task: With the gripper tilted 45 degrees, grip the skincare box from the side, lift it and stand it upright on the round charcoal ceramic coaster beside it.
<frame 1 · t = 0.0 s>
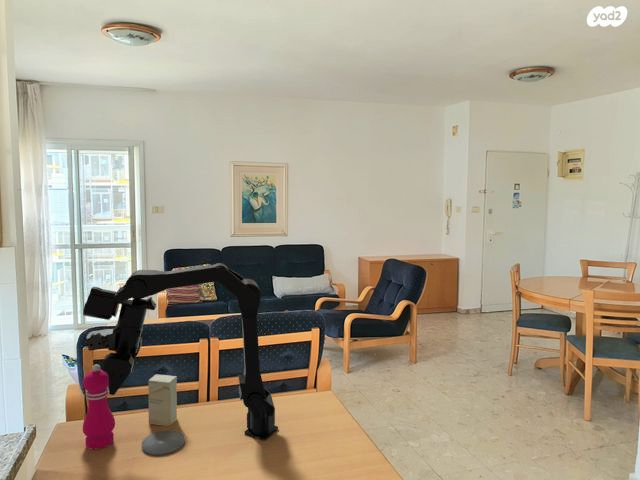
hand: (115, 386, 113), 15 cm above the table, tool pointing down, fingers open, 9 cm apart
charcoal coaster: (163, 443, 117), on the table
skincare box: (163, 421, 128), on the table
pepper mill: (99, 443, 117), on the table
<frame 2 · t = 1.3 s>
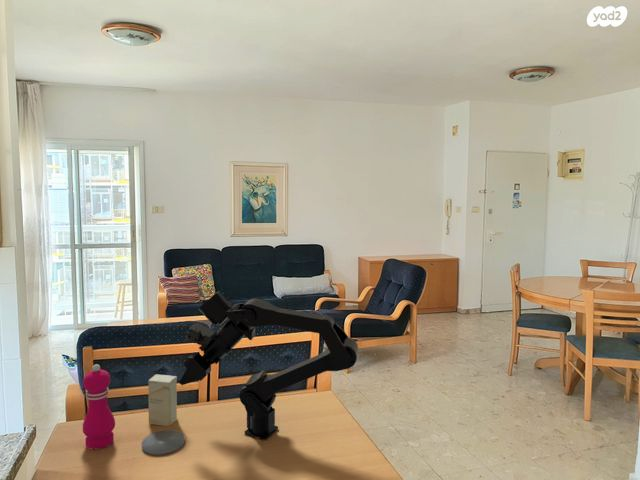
hand: (188, 376, 125), 13 cm above the table, tool tilted 45°, fingers open, 9 cm apart
nothing on the table moved.
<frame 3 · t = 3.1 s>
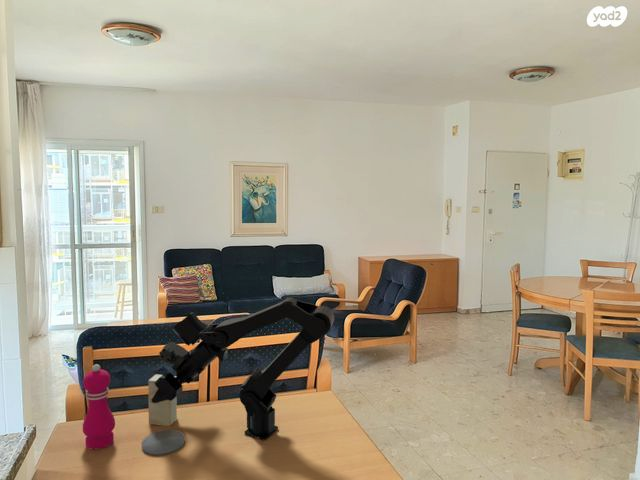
hand: (161, 393, 127), 8 cm above the table, tool tilted 45°, fingers open, 9 cm apart
nothing on the table moved.
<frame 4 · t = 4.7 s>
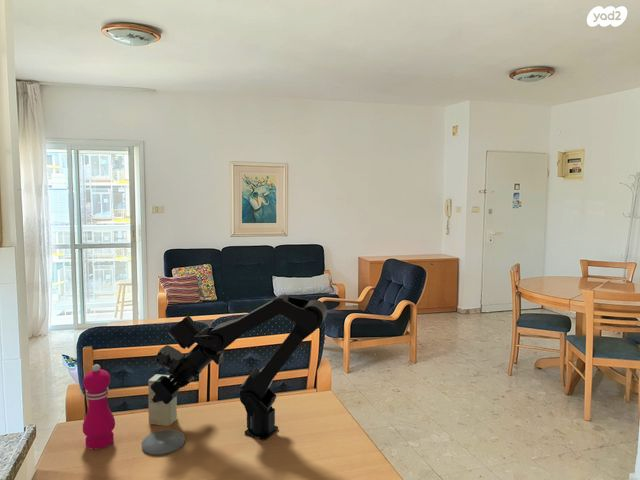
hand: (157, 397, 127), 7 cm above the table, tool tilted 45°, fingers closed on skincare box, 4 cm apart
skincare box: (163, 421, 128), on the table, touching gripper
everything else where it was.
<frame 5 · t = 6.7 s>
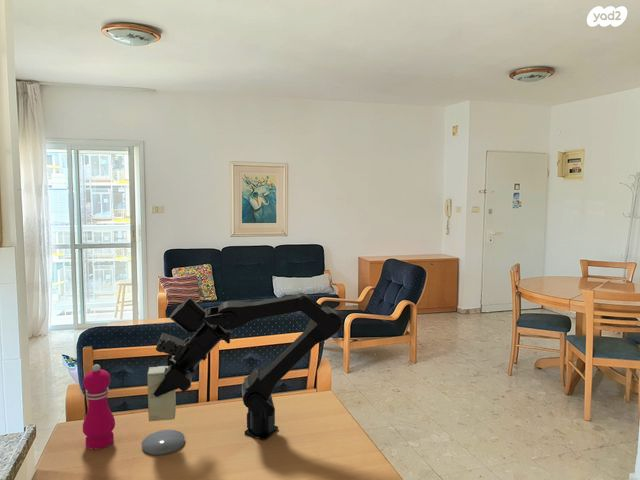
hand: (155, 391, 116), 13 cm above the table, tool tilted 45°, fingers closed on skincare box, 4 cm apart
skincare box: (163, 417, 117), point 6 cm above the table, touching gripper
everything else where it was.
when the fingers open (9 cm above the table, at t = 8.6 s): skincare box drops 1 cm, resting on charcoal coaster.
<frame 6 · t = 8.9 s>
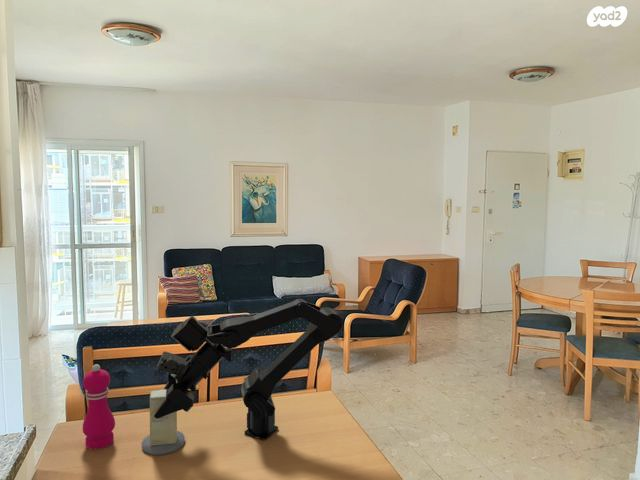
hand: (156, 410, 116), 9 cm above the table, tool tilted 45°, fingers open, 7 cm apart
skincare box: (164, 440, 117), point 1 cm above the table, touching charcoal coaster
everything else where it was.
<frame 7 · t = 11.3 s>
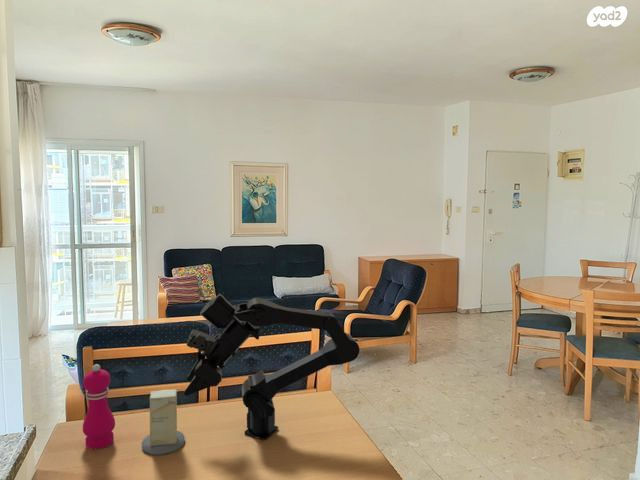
hand: (186, 387, 117), 14 cm above the table, tool tilted 45°, fingers open, 9 cm apart
nothing on the table moved.
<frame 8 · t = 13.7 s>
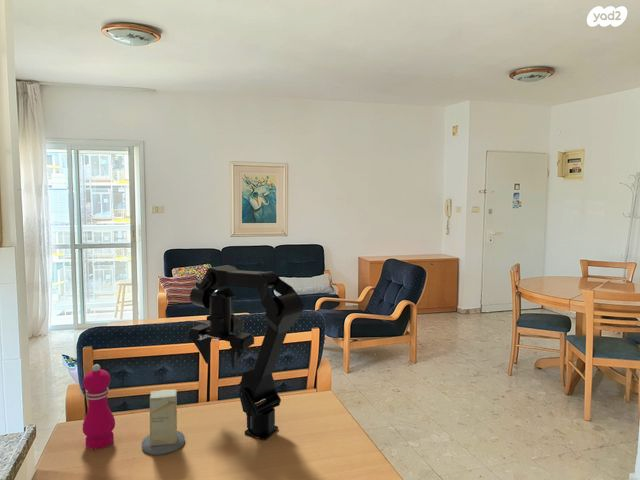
hand: (221, 366, 132), 13 cm above the table, tool pointing down, fingers open, 9 cm apart
nothing on the table moved.
at the end: skincare box 0.2 cm off-centre on the charcoal coaster, point 0.6 cm above the charcoal coaster's base; skincare box tilted 0°; the gripper is holding nothing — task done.
